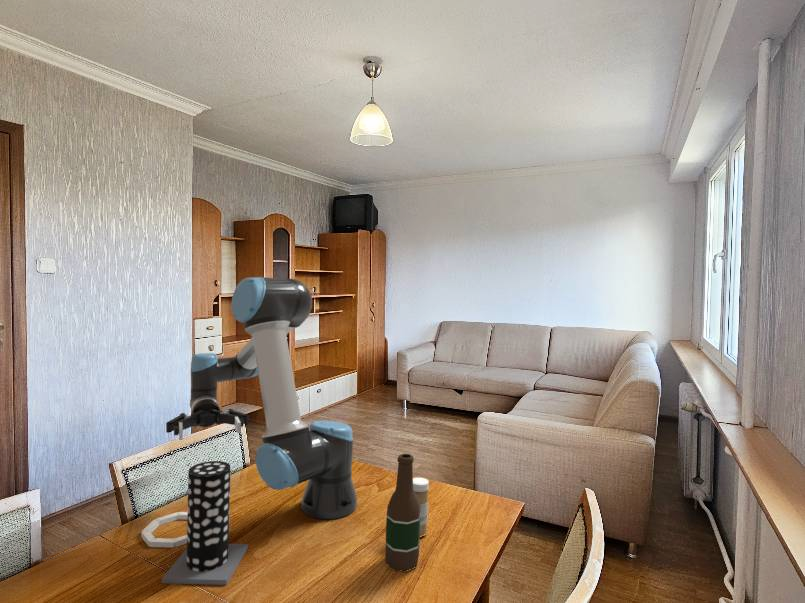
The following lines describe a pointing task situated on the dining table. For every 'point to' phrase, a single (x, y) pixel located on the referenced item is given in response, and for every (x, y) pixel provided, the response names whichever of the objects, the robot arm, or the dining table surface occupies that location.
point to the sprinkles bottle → (422, 501)
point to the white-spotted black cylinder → (208, 515)
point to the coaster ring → (164, 542)
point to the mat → (212, 577)
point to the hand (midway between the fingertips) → (210, 431)
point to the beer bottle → (403, 520)
